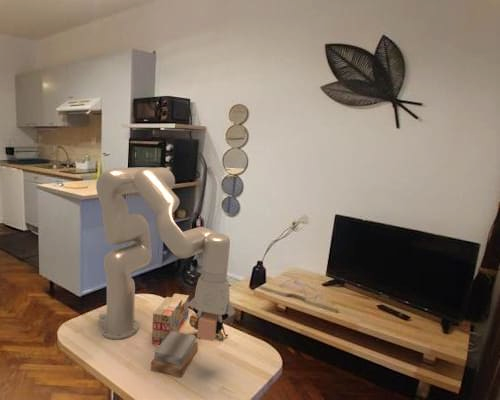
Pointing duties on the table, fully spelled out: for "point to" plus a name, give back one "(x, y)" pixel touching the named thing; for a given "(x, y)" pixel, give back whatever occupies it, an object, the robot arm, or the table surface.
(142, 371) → the table surface
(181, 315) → the stack of blocks
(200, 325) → the terracotta brick
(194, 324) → the lion figurine
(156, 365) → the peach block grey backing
